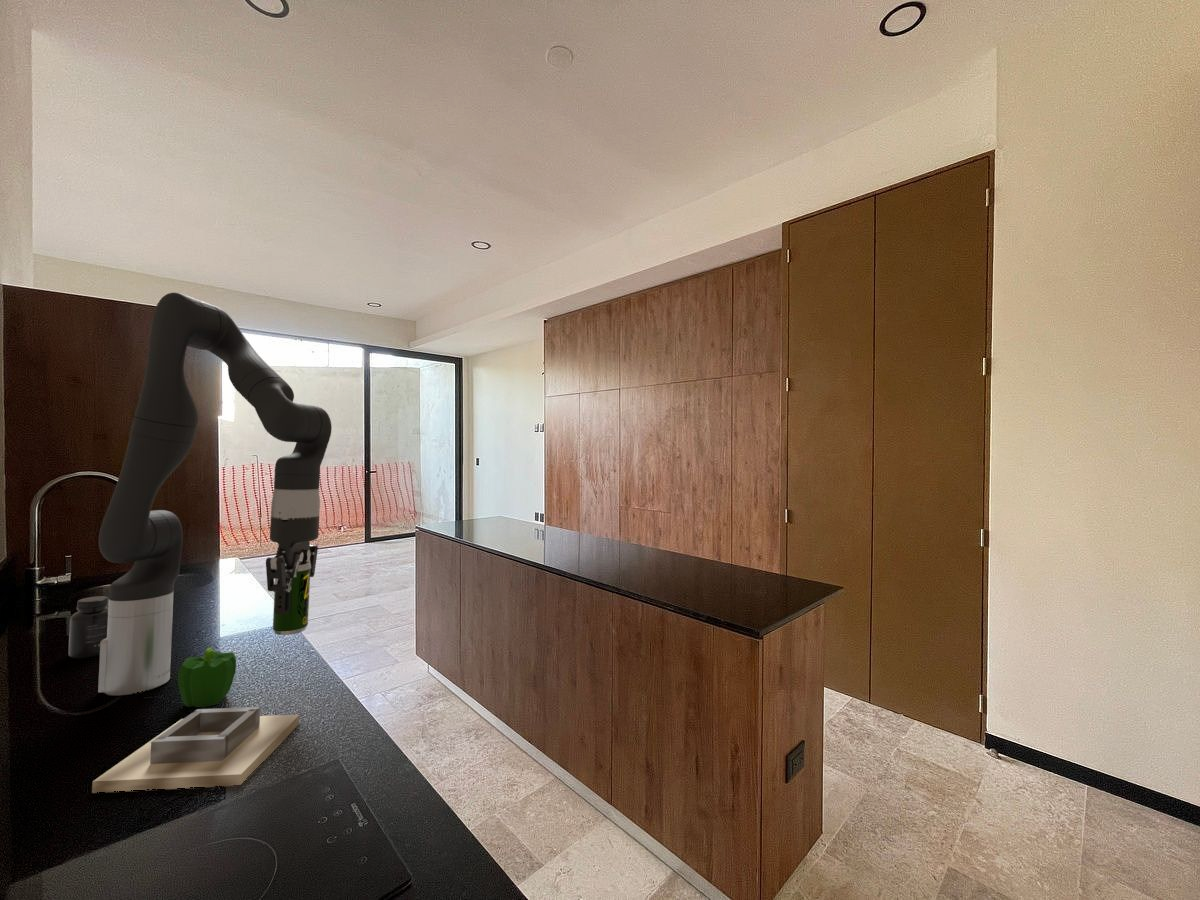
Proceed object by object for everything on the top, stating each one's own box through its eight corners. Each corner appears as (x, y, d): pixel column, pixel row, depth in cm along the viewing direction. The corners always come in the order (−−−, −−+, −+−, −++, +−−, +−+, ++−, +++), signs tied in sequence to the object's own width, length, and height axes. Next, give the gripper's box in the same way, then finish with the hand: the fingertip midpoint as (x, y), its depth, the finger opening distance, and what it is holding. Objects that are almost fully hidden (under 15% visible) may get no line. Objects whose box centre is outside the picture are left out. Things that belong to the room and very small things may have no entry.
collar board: (92, 793, 65) (93, 757, 65) (181, 728, 81) (182, 699, 81) (240, 785, 67) (241, 751, 67) (299, 723, 83) (300, 696, 83)
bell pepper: (185, 696, 91) (187, 641, 92) (239, 688, 95) (241, 635, 95) (167, 717, 84) (169, 657, 84) (226, 708, 87) (228, 651, 87)
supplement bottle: (61, 655, 109) (64, 600, 109) (102, 645, 115) (104, 593, 115) (78, 661, 106) (80, 604, 107) (118, 650, 113) (121, 596, 113)
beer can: (272, 637, 86) (275, 567, 86) (272, 628, 90) (275, 561, 90) (308, 632, 89) (311, 564, 89) (306, 623, 93) (309, 559, 93)
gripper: (293, 509, 97) (289, 597, 96) (250, 518, 82) (244, 621, 82) (334, 510, 97) (330, 597, 97) (298, 518, 83) (293, 621, 83)
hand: (291, 608), depth 89 cm, fingers closed on beer can, 5 cm apart
